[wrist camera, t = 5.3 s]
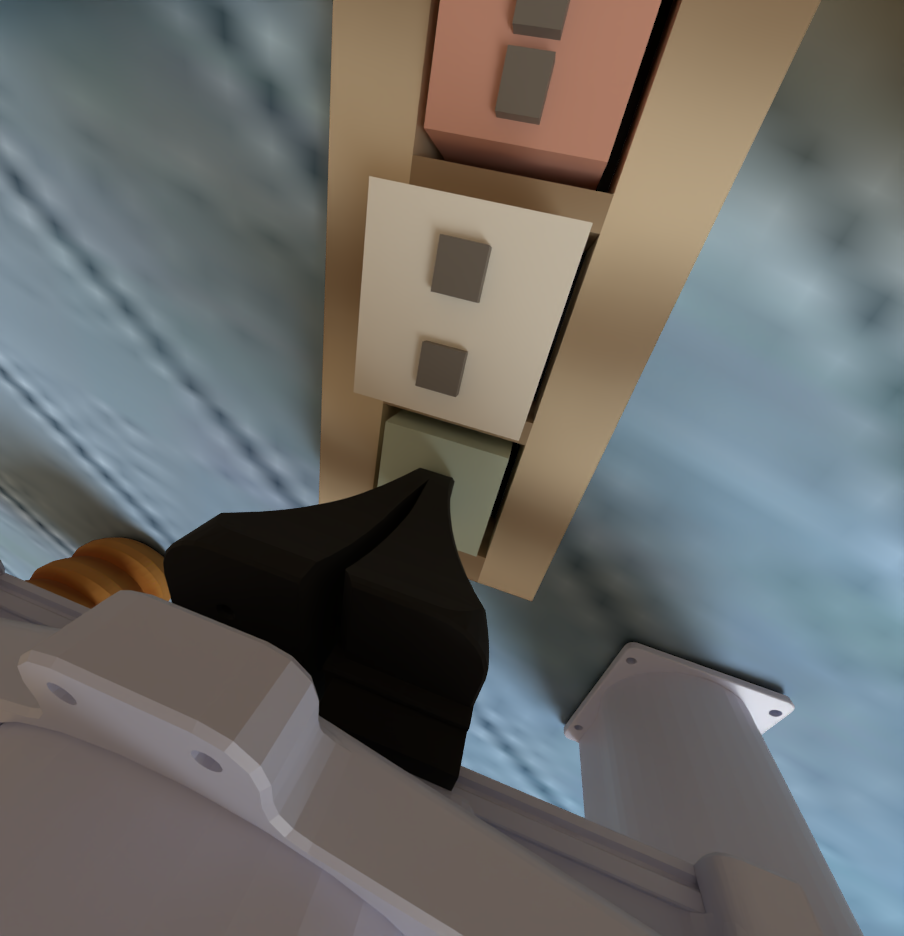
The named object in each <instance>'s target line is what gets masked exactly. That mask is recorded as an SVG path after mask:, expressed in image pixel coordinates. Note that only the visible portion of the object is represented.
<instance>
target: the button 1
mask: <svg viewBox="0 0 904 936" xmlns="http://www.w3.org/2000/svg"><path fill="white" fill-rule="evenodd" d="M512 444H513V442H512V441H509V440H506V439H502V438H499V437H495V436H492V435H489V434H485V433H482V432H479V431H475V430H472V429H469V428H465V427H462V426H458V425H455V424H452V423H448V422H445V421H442V420H438V419H435V418H431V417H428V416H425V415H421V414H418V413H415V412H411V411H408V410H405V409H402V410H401V411H399V412H398V413H397V414H395V415H394V416H392V417H391V418H390V419H388V420H387V421H386V422H385V430H384V438H383V446H382V454H381V462H380V470H379V478H378V486H377V487H379V486H382V485H384V484H386V483H389V482H391V481H393V480H395V479H397V478H400V477H402V476H404V475H406V474H408V473H410V472H412V471H414V470H416V469H418V468H423V469H426V470H430V471H433V472H436V473H439V474H442V475H445V476H449V477H452V478H453V479H454V481H455V483H454V486H453V490H452V494H451V498H450V513H451V523H452V530H453V535H454V539H455V544H456V547H457V550H458V551H461V552H464V553H467V554H470V555H473V556H477V553H478V550H479V547H480V544H481V541H482V538H483V535H484V532H485V529H486V526H487V523H488V520H489V517H490V514H491V511H492V508H493V505H494V502H495V499H496V496H497V493H498V490H499V487H500V484H501V481H502V478H503V475H504V472H505V469H506V466H507V463H508V460H509V457H510V453H511V448H512Z"/></svg>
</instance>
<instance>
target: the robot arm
mask: <svg viewBox="0 0 904 936" xmlns="http://www.w3.org/2000/svg"><path fill="white" fill-rule="evenodd" d="M454 483H455V481H454V479H453V478H452V477H449V476H445V475H442V474H439V473H436V472H433V471H430V470H426V469H423V468H418V469H416V470H414V471H412V472H410V473H408V474H406V475H404V476H402V477H400V478H397V479H395V480H393V481H391V482H389V483H386V484H384V485H382V486H379V487H376V488H374V489H371V490H369V491H366V492H364V493H361V494H358V495H355V496H351V497H348V498H344V499H341V500H337V501H333V502H328V503H323V504H318V505H313V506H308V507H301V508H294V509H286V510H276V511H263V512H238V513H220V514H219V515H217V516H215V517H214V518H212V519H211V520H209V521H208V522H206V523H204V524H203V525H201V526H200V527H198V528H197V529H195V530H193V531H192V532H190V533H189V534H187V535H186V536H184V537H182V538H181V539H179V540H178V541H176V542H175V543H173V544H172V545H171V546H170V547H169V548H168V549H167V550H166V552H165V556H164V560H163V567H164V575H165V578H166V582H167V586H168V589H169V593H170V597H171V600H172V603H171V602H169V601H166V600H164V599H161V598H159V597H156V596H154V595H151V594H146V593H141V592H136V591H132V590H120V591H118V592H116V593H115V594H113V595H112V596H110V597H108V598H107V599H105V600H104V601H102V602H101V603H99V604H98V605H96V606H95V607H93V608H92V609H90V608H87V607H85V606H83V605H80V604H78V603H76V602H73V601H71V600H68V599H66V598H64V597H61V596H59V595H57V594H54V593H52V592H50V591H47V590H45V589H42V588H40V587H38V586H35V585H33V584H31V583H28V582H26V581H24V580H21V579H19V578H17V577H14V576H12V575H9V574H7V573H5V568H4V566H3V564H2V562H1V560H0V936H864V935H863V933H862V931H861V929H860V928H859V926H858V924H857V922H856V920H855V918H854V916H853V914H852V912H851V910H850V908H849V906H848V904H847V902H846V900H845V898H844V896H843V894H842V892H841V890H840V888H839V886H838V884H837V882H836V880H835V878H834V876H833V874H832V873H831V871H830V869H829V867H828V865H827V863H826V861H825V859H824V857H823V855H822V853H821V851H820V849H819V847H818V845H817V843H816V841H815V839H814V837H813V835H812V833H811V831H810V829H809V827H808V825H807V823H806V821H805V819H804V818H803V816H802V814H801V812H800V810H799V808H798V806H797V804H796V802H795V800H794V798H793V796H792V794H791V792H790V790H789V788H788V786H787V784H786V782H785V780H784V778H783V776H782V774H781V772H780V770H779V768H778V766H777V764H776V763H775V761H774V759H773V757H772V755H771V753H770V751H769V749H768V747H767V745H766V743H765V741H764V739H763V737H762V734H763V733H764V732H766V731H767V730H768V729H770V728H771V727H772V726H774V725H775V724H776V723H778V722H779V721H780V720H782V719H783V718H784V717H786V716H787V715H788V714H790V713H791V712H792V711H793V710H794V705H793V703H792V701H791V700H790V698H789V697H787V696H785V695H783V694H780V693H777V692H774V691H772V690H769V689H766V688H763V687H760V686H758V685H755V684H752V683H749V682H746V681H743V680H741V679H738V678H735V677H732V676H729V675H727V674H724V673H721V672H718V671H715V670H713V669H710V668H707V667H704V666H701V665H698V664H696V663H693V662H690V661H687V660H684V659H682V658H679V657H676V656H673V655H670V654H667V653H665V652H662V651H659V650H656V649H653V648H651V647H648V646H645V645H642V644H639V643H636V642H630V643H627V644H626V645H625V646H624V647H623V648H622V650H621V651H620V652H619V654H618V655H617V656H616V658H615V659H614V660H613V662H612V663H611V664H610V666H609V667H608V668H607V670H606V671H605V672H604V674H603V675H602V677H601V678H600V679H599V681H598V682H597V683H596V685H595V686H594V687H593V689H592V690H591V691H590V693H589V694H588V695H587V697H586V698H585V699H584V701H583V702H582V703H581V705H580V706H579V707H578V709H577V710H576V711H575V713H574V714H573V715H572V717H571V718H570V720H569V721H568V722H567V724H566V725H565V726H564V734H565V736H566V737H567V738H569V739H571V740H573V741H576V742H578V743H579V749H580V762H581V775H582V787H583V800H584V813H585V818H583V817H580V816H578V815H576V814H573V813H571V812H569V811H566V810H564V809H562V808H559V807H557V806H554V805H552V804H550V803H547V802H545V801H543V800H540V799H538V798H536V797H533V796H531V795H528V794H526V793H524V792H521V791H519V790H517V789H514V788H512V787H510V786H507V785H505V784H503V783H500V782H498V781H495V780H493V779H491V778H488V777H486V776H484V775H481V774H479V773H477V772H474V771H472V770H470V769H467V768H465V767H462V766H461V761H462V755H463V750H464V745H465V739H466V734H467V731H468V729H469V726H470V723H471V717H472V711H473V706H474V703H475V701H476V699H477V697H478V695H479V692H480V690H481V688H482V686H483V684H484V682H485V679H486V676H487V672H488V665H489V638H488V627H487V619H486V612H485V609H484V607H483V606H482V604H481V602H480V601H479V599H478V597H477V595H476V594H475V592H474V590H473V588H472V586H471V584H470V582H469V580H468V577H467V575H466V573H465V570H464V568H463V565H462V562H461V560H460V557H459V554H458V551H457V547H456V544H455V539H454V535H453V530H452V523H451V513H450V498H451V494H452V490H453V486H454ZM630 657H631V658H630Z"/></svg>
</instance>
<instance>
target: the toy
mask: <svg viewBox="0 0 904 936" xmlns="http://www.w3.org/2000/svg"><path fill="white" fill-rule="evenodd" d="M163 560H164V557H163V556H162V555H160V554H159V553H158V552H157V551H155V550H154V549H152V548H150V547H149V546H147V545H145V544H143V543H141V542H138V541H136V540H132V539H127V538H119V537H115V538H103V539H98V540H94V541H91V542H89V543H87V544H85V545H83V546H81V547H80V548H78V549H77V550H76V552H75V553H74V554H73V556H72V557H70V558H65V559H61V560H56V561H53V562H50V563H48V564H46V565H44V566H42V567H40V568H38V569H37V570H36V571H35V572H34V574H33V575H32V577H31V578H30V580H25V581H26V582H28V583H31V584H33V585H35V586H38V587H40V588H42V589H45V590H47V591H50V592H52V593H54V594H57V595H59V596H61V597H64V598H66V599H68V600H71V601H73V602H76V603H78V604H80V605H83V606H85V607H87V608H90V609H92V608H93V607H95V606H96V605H98V604H99V603H101V602H102V601H104V600H105V599H107V598H108V597H110V596H112V595H113V594H115V593H116V592H118V591H120V590H132V591H136V592H141V593H146V594H151V595H154V596H156V597H159V598H161V599H164V600H166V601H169V600H170V598H171V597H170V593H169V589H168V586H167V582H166V578H165V575H164V567H163Z"/></svg>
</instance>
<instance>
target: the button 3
mask: <svg viewBox="0 0 904 936" xmlns="http://www.w3.org/2000/svg"><path fill="white" fill-rule="evenodd" d="M661 1H662V0H440V4H439V12H438V20H437V28H436V36H435V44H434V51H433V59H432V67H431V75H430V83H429V91H428V99H427V106H426V114H425V122H424V129H425V130H426V132H427V133H428V135H429V136H430V138H431V139H432V141H433V142H434V144H435V145H436V147H437V148H438V150H439V151H440V153H441V154H442V156H443V157H444V159H445V160H446V161H448V162H453V163H458V164H463V165H468V166H473V167H478V168H483V169H488V170H493V171H498V172H503V173H508V174H513V175H518V176H523V177H529V178H534V179H539V180H544V181H549V182H554V183H559V184H564V185H569V186H574V187H579V188H584V189H589V190H594V191H595V190H596V188H597V186H598V184H599V181H600V179H601V177H602V174H603V172H604V170H605V167H606V165H607V163H608V160H609V157H610V154H611V151H612V148H613V145H614V142H615V139H616V136H617V133H618V130H619V127H620V124H621V121H622V118H623V115H624V112H625V109H626V106H627V103H628V100H629V97H630V94H631V91H632V88H633V85H634V82H635V79H636V76H637V73H638V70H639V67H640V64H641V61H642V58H643V55H644V52H645V49H646V46H647V43H648V40H649V37H650V34H651V31H652V28H653V25H654V22H655V19H656V16H657V13H658V10H659V7H660V4H661Z"/></svg>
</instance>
